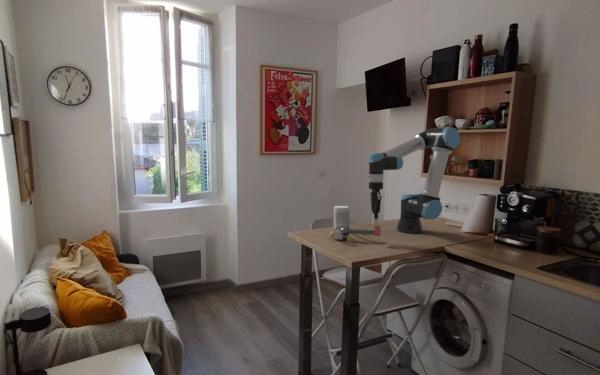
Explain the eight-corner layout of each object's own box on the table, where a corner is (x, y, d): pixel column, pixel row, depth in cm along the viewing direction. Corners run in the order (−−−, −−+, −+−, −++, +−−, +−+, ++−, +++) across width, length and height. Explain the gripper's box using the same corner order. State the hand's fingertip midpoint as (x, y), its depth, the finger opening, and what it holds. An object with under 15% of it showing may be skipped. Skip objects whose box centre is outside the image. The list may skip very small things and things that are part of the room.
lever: (379, 240, 188) (380, 225, 187) (380, 242, 183) (380, 227, 182) (333, 237, 191) (334, 223, 190) (333, 240, 186) (333, 225, 185)
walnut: (334, 236, 195) (335, 230, 195) (340, 238, 191) (341, 232, 191) (328, 237, 193) (328, 231, 192) (333, 239, 189) (334, 233, 188)
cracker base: (357, 235, 203) (357, 233, 203) (383, 243, 187) (383, 241, 186) (326, 241, 191) (326, 238, 191) (350, 250, 174) (350, 247, 174)
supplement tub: (352, 230, 216) (352, 207, 214) (340, 232, 210) (340, 208, 209) (341, 227, 224) (342, 204, 222) (330, 229, 218) (330, 206, 217)
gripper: (365, 180, 194) (365, 222, 197) (372, 183, 181) (372, 227, 184) (379, 180, 194) (378, 221, 197) (386, 182, 181) (385, 227, 184)
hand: (375, 224), depth 190 cm, fingers closed
